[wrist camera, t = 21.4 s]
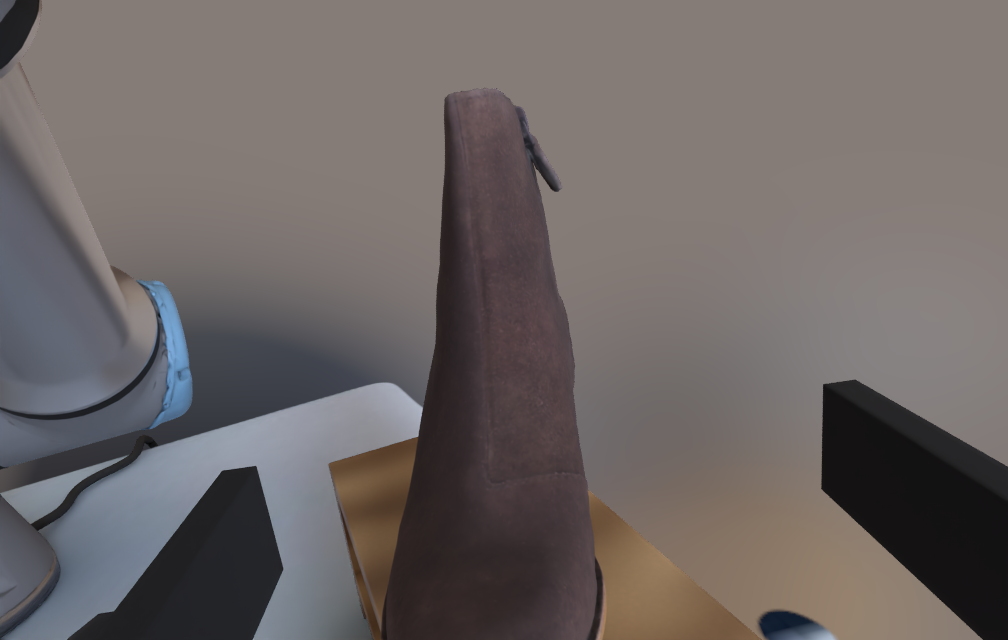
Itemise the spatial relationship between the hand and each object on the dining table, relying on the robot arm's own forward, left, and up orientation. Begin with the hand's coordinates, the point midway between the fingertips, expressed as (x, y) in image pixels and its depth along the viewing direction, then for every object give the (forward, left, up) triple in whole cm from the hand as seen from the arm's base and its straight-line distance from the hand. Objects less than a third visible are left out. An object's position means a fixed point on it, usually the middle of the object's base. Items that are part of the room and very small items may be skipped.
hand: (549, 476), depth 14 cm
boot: (-12, +3, -10) cm, 16 cm away
